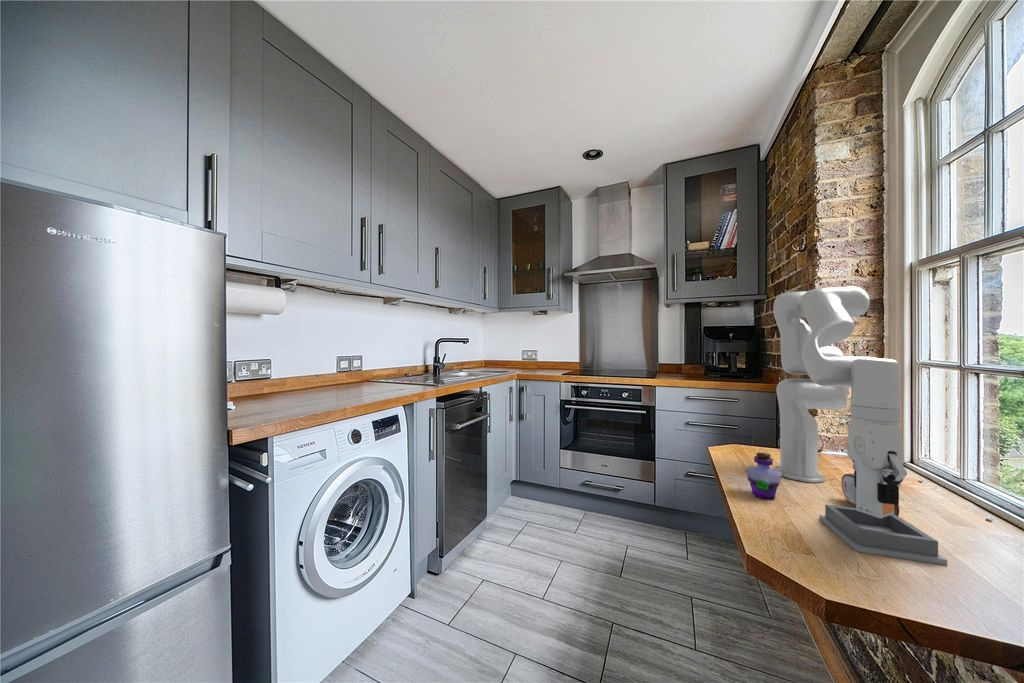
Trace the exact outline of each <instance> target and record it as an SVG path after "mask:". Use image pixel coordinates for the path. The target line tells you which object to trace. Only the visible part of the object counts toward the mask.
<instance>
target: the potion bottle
mask: <svg viewBox="0 0 1024 683" xmlns="http://www.w3.org/2000/svg"><path fill="white" fill-rule="evenodd" d="M753 460H754V463H756V466H747V467H746V468H745V472H746V476H747V481H748V483H749V485H750V489H751V492H752V493H753V494H754V495H755V496H756V499H761V500H764V501H774V500H773V499H774V498H775V499H776V492H777V489H778V487H779V486H780V481H781V477H782V476H781V475H782V473H780V472H777V471H775V470H774V468H770V466H773V464H774V462H773V461H774V460H773V458H771V454H770V453H766V452H756V455H754V457H753ZM752 493H751V494H752ZM755 496H754V497H755ZM758 497H760V498H758ZM766 499H767V500H766ZM768 499H770V500H768ZM771 499H772V500H771Z"/></svg>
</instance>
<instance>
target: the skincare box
mask: <svg viewBox="0 0 1024 683" xmlns="http://www.w3.org/2000/svg"><path fill="white" fill-rule="evenodd" d="M889 468H890V467H883V469H889ZM884 474H885V477H887V476H888V475H889V474H891V473H884ZM877 483H880V480H879V477H878V473H877V470H872V469H870V468H868V467H866V466H864V465H863V459H862V458H861V457H857V458H856V506H855V508H856V510H857V511H859V512H862V513H866V514H868V515H871V516H874V517H877V518H883V517H886V516H889V515H892V514H894V504H885V503H880V502H878V500H877Z"/></svg>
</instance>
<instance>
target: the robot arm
mask: <svg viewBox="0 0 1024 683" xmlns="http://www.w3.org/2000/svg"><path fill="white" fill-rule="evenodd" d="M869 308H870V297H869V295H868V293H867V292H866V290H864V289H863V288H861V287H857V286H837V287H836V286H835V287H817V288H814V289H810V290H804V291H791V292H790V291H789V292H785V293H782V294H779V295H778V296H776V298H775V300H774V302H773V316H774V319H775V320H774V321H775V322H776V325H777V328H778V331H779V336H780V362H781V367H782V370H783V371H784V372H785V373H787V374H790V375H803V376H809V378H785V379H783V380H781V381H779V382H778V383H777V384H776V392H775V393H776V397H777V401H778V408H779V427H780V428H779V429H780V430H779V435H780V437H779V438H780V440H779V446H780V448H779V451H780V453H779V458H780V459H779V460H780V461H779V463H780V464H779V465H776V466H774V468H773V470H775V471H777V472H780V473H782V475H781V477H784V478H786V479H787V478H788V479H790V480H795V481H798V480H799V481H800V482H806V483H823V482H824V481H825V476H824V475H823V474H822V473H820V472H819V452H818V451H819V450H818V449H819V443H818V442H819V431H818V428H819V424H818V422H817V420H816V418H815V417H814V416H813V415H812V414H811V413H810V412H809V410H829V411H837V410H838V411H839V410H842V409H844V408H845V407H846V405H847V403H848V388H850V421H849V425H848V431H847V432H848V435H847V446H846V447H847V449H846V450H847V451H846V454H847V457H848V458H849V459H850V460H851V462H852V463H853V465H852V468H853V472H854V473H853V474H854V487H855V488H856V458H857V457H861V458H862V459H863V465H864V466H866V467H868V468H870V469H872V470H877V473H878V477H879V480H880V483H877V500H878V502H880V503H885V504H894V505H898V504H900V487H901V486H902V482H903V481H904V479H905V477H907V476H908V472H907V470H906V469H905V467H904V449H903V448H904V446H903V437H902V432H901V431H902V430H901V427H900V425H901V424H902V422H901V421H902V420H901V419H902V418H901V416H902V415H901V413H902V412H901V408H902V407H901V403H902V402H901V400H902V399H901V396H902V395H901V392H902V391H901V390H902V389H901V384H902V383H901V382H902V381H901V365H900V363H899V362H898V360H895V359H890V358H880V357H875V356H853V355H845V354H844V353H843V350H841V349H840V348H838V347H836V346H832V345H833V344H837V343H839V342H842V341H844V340H846V339H848V338H849V337H851V335H853V333H854V332H855V330H856V325H855V322H854V321H853V319H852V318H854V317H860V316H863V315H865V313H867V311H868V310H869ZM803 319H806V321H807V322H806V321H805V320H803ZM830 345H831V346H830ZM883 467H890V468H889V469H883ZM884 473H891V474H889V475H888V476H887V477H885V474H884Z"/></svg>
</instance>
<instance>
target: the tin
mask: <svg viewBox="0 0 1024 683" xmlns="http://www.w3.org/2000/svg"><path fill="white" fill-rule="evenodd" d="M841 488H842V490H841V491H842V493H843V496H844V497H845V498H846V500H847V501H848V502H849V503H850V504H851V505H852V506H854V507H856V488H855V487H854V473H845V474H843V475H842V477H841ZM899 504H900V503H899ZM899 504H898V505H894V514H895V515H896V516H898V517H899V516H900V505H899Z"/></svg>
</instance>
